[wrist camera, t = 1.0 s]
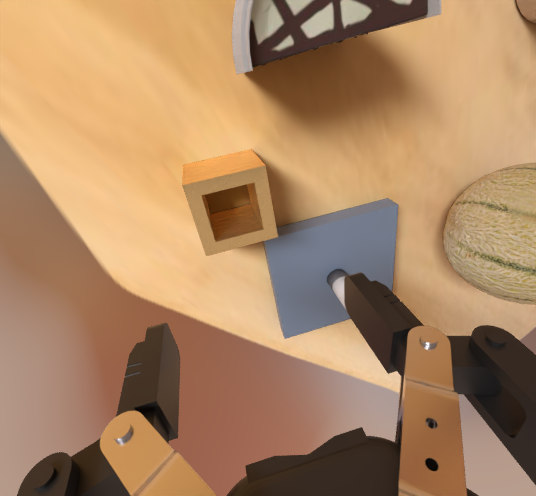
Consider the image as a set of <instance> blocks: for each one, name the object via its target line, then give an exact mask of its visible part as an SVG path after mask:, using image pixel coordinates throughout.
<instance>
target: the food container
mask: <svg viewBox="0 0 536 496" xmlns="http://www.w3.org/2000/svg"><path fill="white" fill-rule="evenodd" d="M440 14H441V0H236V3H235V9H234V14H233V28H232V44H233V58H234V63H235V68H236V73H237V74H240V73H245V72H248V71H253V69H252V68H253V67H256V66H259V65H265V64H267V63H269V62H272V61H276V60H282V59H283V58H287V57H289V56H293V55H296V54H299V53H302V52H305V51H308V50H312V49H313V50H315V49H317V48H319V47H322V46H325V45H328V44H333V43H337V42H339V43H340V42H342V41H343V40H345V39H349V38H352V37H355V38H356V37H357V36H358V35H363V34H368V33H369V32H373V31H377V30H381V29H385V28H389V27H393V26H397V25H401V24H405V23H409V22H413V21H417V20H420V19H424V18H428V17H432V16H436V15H440Z"/></svg>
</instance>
